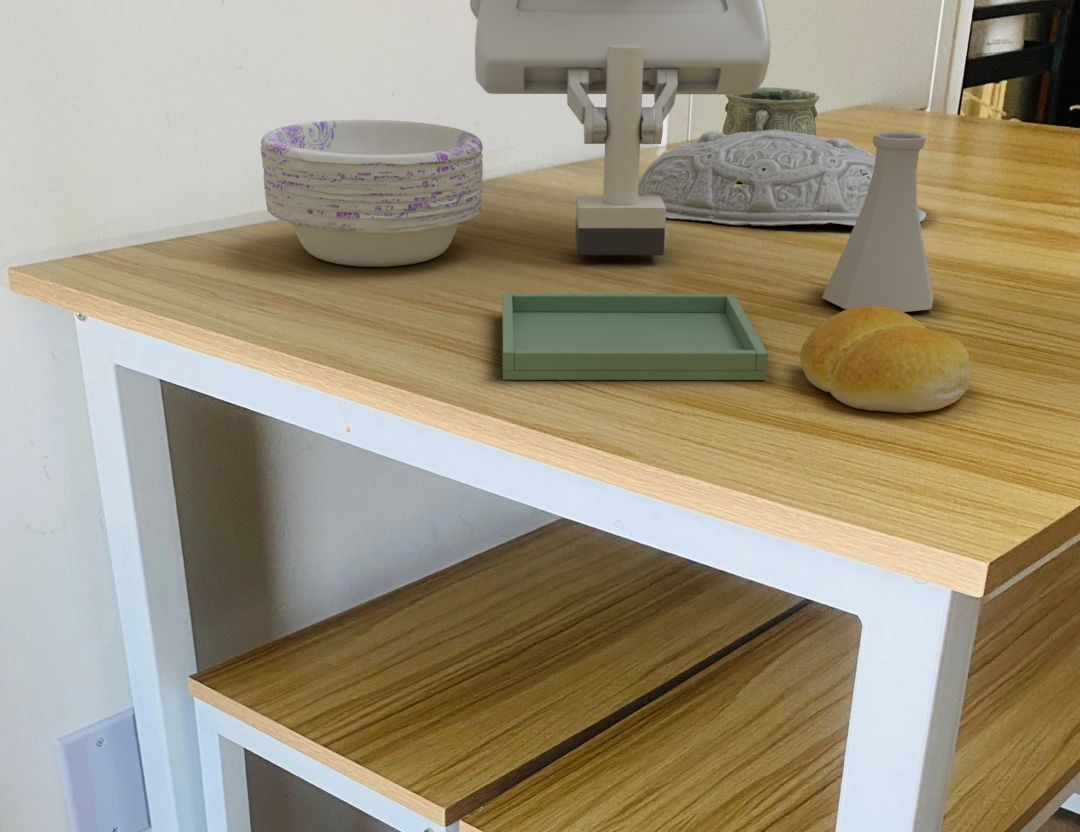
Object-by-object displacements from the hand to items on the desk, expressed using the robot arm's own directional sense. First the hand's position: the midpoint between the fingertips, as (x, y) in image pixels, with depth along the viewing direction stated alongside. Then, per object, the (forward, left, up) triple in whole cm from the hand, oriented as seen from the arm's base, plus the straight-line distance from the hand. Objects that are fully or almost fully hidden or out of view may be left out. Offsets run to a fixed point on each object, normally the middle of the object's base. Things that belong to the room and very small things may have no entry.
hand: (623, 138), depth 93 cm
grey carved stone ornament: (-14, -18, -8) cm, 24 cm away
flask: (-16, +11, -8) cm, 21 cm away
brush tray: (+1, +21, -8) cm, 23 cm away
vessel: (-17, -38, -8) cm, 42 cm away
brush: (0, -1, -7) cm, 7 cm away
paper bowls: (+17, -2, -8) cm, 19 cm away
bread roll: (-12, +29, -8) cm, 32 cm away
